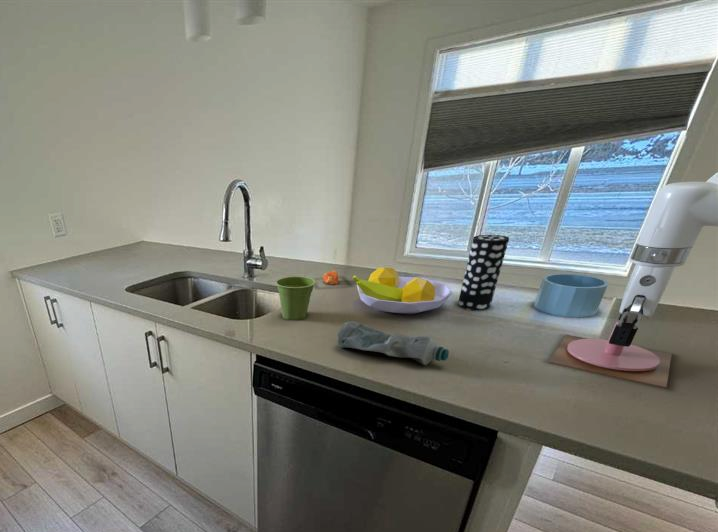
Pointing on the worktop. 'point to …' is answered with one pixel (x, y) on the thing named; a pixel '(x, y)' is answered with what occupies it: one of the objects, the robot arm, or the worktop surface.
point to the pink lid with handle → (613, 354)
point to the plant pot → (295, 296)
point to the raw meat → (331, 278)
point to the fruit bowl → (401, 292)
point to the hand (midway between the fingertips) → (621, 336)
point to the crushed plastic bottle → (390, 343)
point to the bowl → (570, 295)
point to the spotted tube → (482, 271)
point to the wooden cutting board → (648, 377)
